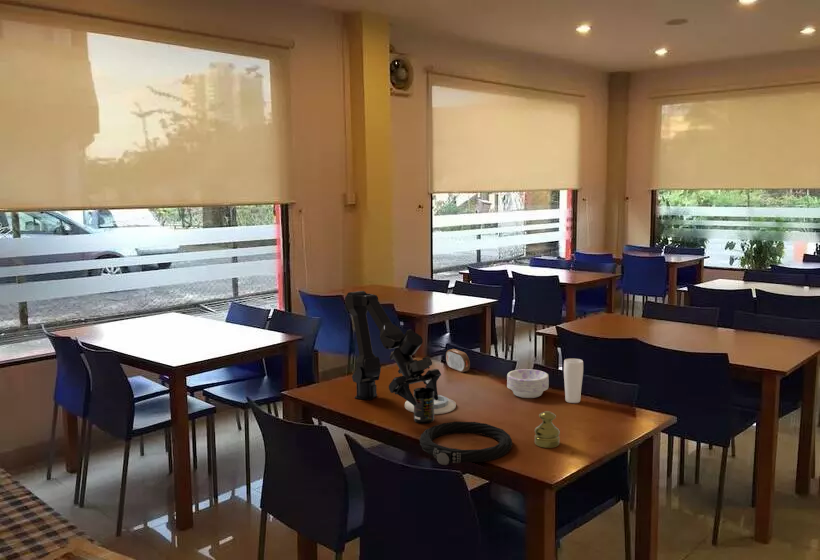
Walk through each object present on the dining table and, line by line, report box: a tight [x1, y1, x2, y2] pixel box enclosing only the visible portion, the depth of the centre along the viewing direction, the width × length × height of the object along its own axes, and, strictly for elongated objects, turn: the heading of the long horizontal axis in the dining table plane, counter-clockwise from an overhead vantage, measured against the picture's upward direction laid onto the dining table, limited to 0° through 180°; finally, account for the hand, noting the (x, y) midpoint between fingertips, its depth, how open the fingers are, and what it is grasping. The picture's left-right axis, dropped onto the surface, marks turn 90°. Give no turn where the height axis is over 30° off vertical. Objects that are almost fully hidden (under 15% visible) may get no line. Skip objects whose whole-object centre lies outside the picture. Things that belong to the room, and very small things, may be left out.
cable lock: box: [419, 421, 513, 466], centre depth 204 cm, size 28×4×30 cm
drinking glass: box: [563, 358, 584, 404], centre depth 246 cm, size 7×7×15 cm
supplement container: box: [413, 386, 435, 425], centre depth 227 cm, size 7×7×10 cm
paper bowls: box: [506, 368, 550, 399], centre depth 255 cm, size 15×15×8 cm
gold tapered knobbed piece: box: [534, 410, 561, 449], centre depth 205 cm, size 7×7×10 cm
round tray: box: [404, 394, 457, 415], centre depth 243 cm, size 18×18×2 cm
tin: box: [445, 348, 471, 373], centre depth 292 cm, size 15×3×8 cm, turn 30°
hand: (426, 402), depth 226 cm, fingers open, 9 cm apart
